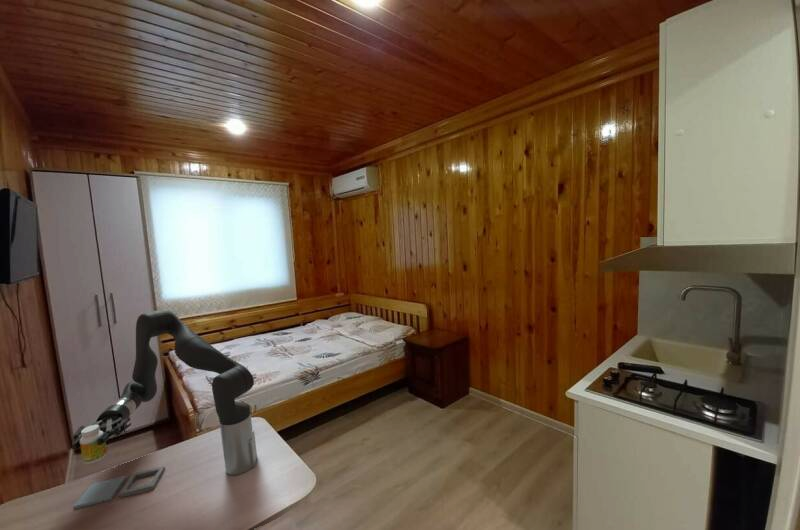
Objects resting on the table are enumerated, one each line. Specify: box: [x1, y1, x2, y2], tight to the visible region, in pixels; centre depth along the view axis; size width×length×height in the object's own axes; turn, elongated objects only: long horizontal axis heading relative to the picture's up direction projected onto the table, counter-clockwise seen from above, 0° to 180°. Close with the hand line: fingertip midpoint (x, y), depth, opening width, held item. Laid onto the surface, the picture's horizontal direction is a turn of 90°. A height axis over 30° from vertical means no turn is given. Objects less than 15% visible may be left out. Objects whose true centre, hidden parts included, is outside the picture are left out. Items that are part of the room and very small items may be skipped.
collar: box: [118, 465, 166, 498], centre depth 103 cm, size 9×9×1 cm
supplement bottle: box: [80, 424, 108, 465], centre depth 98 cm, size 5×5×10 cm
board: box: [73, 475, 127, 510], centre depth 100 cm, size 9×9×1 cm
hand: (87, 444), depth 96 cm, fingers closed on supplement bottle, 5 cm apart
